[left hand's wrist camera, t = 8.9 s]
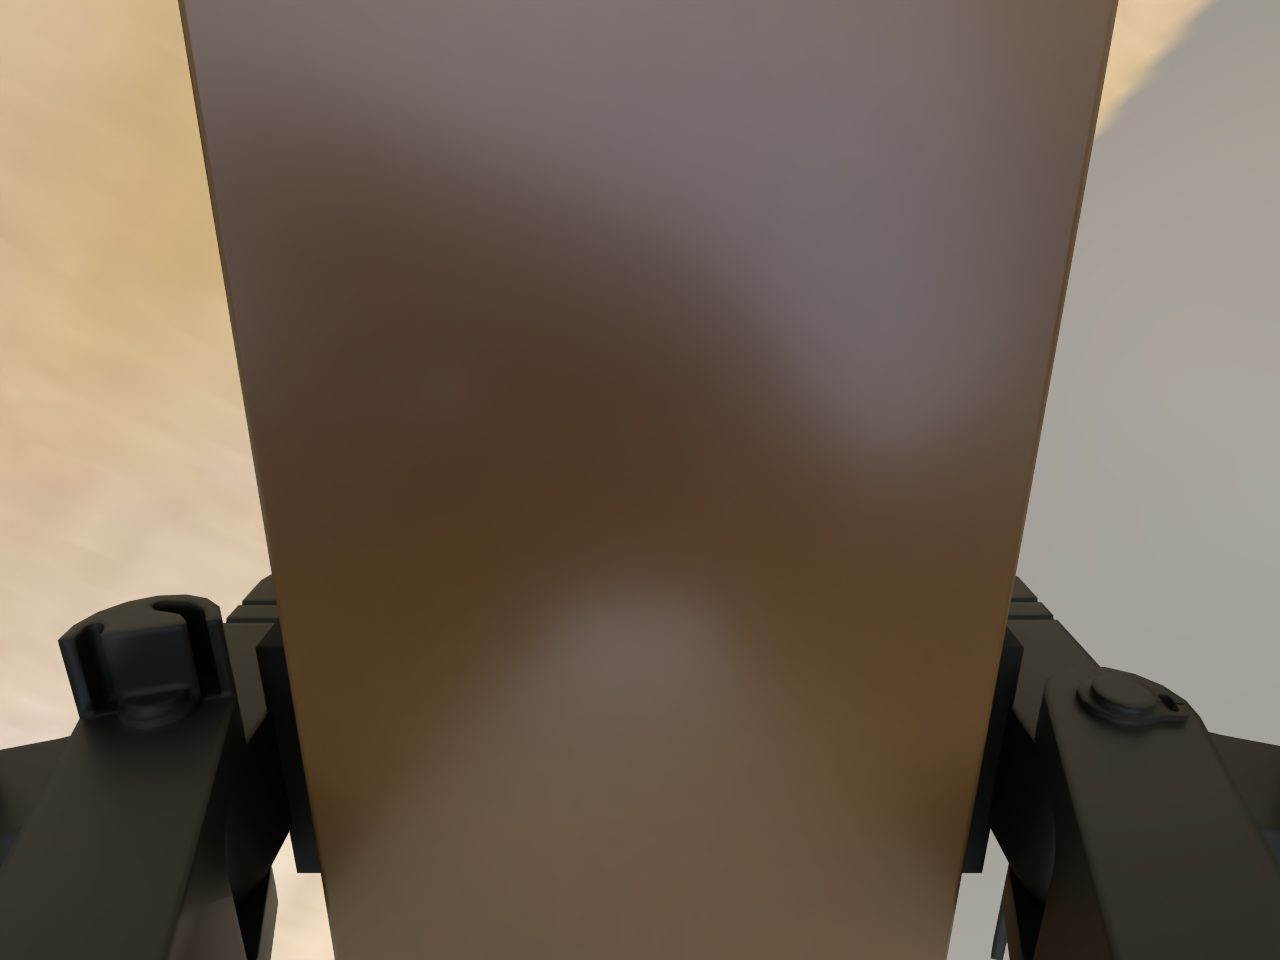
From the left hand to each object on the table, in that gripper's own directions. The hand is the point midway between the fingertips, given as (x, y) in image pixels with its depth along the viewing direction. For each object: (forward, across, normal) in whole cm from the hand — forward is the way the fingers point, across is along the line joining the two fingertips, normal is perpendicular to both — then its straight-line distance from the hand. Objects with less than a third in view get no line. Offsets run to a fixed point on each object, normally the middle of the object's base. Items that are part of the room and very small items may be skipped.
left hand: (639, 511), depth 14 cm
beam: (+1, 0, -22) cm, 22 cm away
